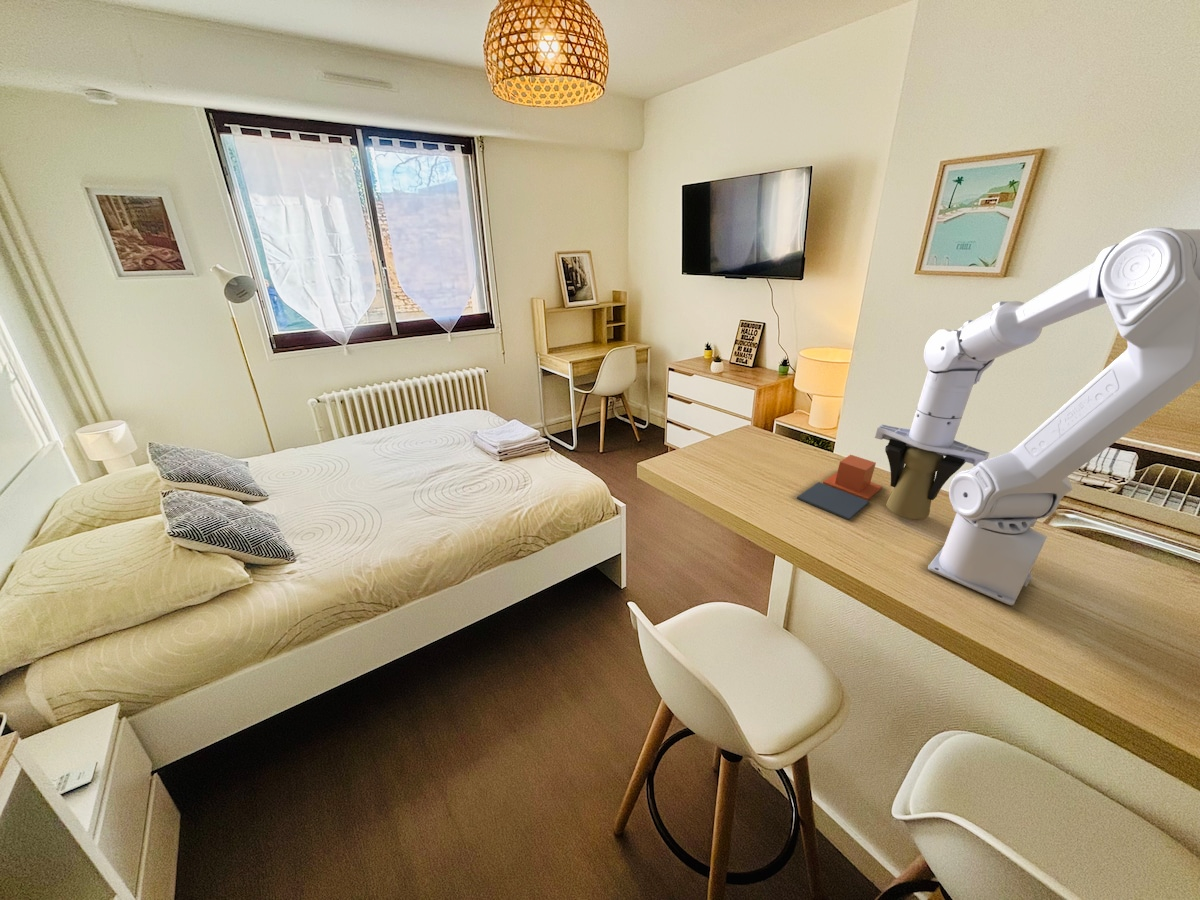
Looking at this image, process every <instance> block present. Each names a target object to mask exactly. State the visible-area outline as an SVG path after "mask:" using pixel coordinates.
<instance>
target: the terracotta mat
mask: <svg viewBox="0 0 1200 900" xmlns="http://www.w3.org/2000/svg"><path fill="white" fill-rule="evenodd" d="M836 476H837V472H835V473H833V474H832V475H830V476H829V477H828V478H826V479H825V480H823V482H822V483H823V484H825V485H828V486H830V487H833V488H836V489H838V490H841V491H844V492H846V493H849V494H852V495H854V496H857V497H860V498H862V499H865V500H868V501H870V499H872V498H873V497H874V495H876V494H877V493H878V492H880V490H882V489H883V486H882V485H880V484H877V483H874V482H872V481H871V482H870V485H868V486H867V487H866V488H865V489H863V490H862V491H861V492H857V491H854V490H852V489H849V488H846V487H844V486H841V485H838V484H835V480H836Z"/></svg>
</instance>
